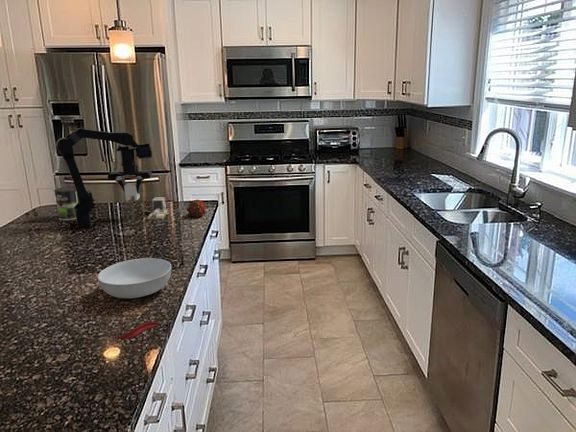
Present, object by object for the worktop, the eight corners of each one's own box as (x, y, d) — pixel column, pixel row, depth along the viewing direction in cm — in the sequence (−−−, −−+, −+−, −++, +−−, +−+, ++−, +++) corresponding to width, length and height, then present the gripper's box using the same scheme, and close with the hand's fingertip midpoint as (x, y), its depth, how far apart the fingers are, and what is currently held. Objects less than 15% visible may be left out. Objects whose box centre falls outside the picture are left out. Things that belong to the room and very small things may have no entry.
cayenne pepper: (116, 343, 112) (115, 336, 112) (113, 335, 116) (112, 328, 116) (166, 330, 118) (165, 323, 117) (161, 322, 122) (160, 316, 121)
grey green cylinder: (71, 221, 219) (67, 191, 215) (53, 219, 222) (49, 190, 218) (86, 215, 228) (82, 187, 225) (69, 214, 231) (65, 186, 227)
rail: (162, 219, 217) (160, 204, 215) (147, 220, 216) (145, 205, 214) (168, 210, 232) (166, 197, 230) (153, 211, 232) (152, 197, 230)
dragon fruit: (198, 222, 216) (194, 220, 227) (212, 210, 217) (207, 208, 228) (186, 209, 213) (182, 207, 224) (200, 196, 215) (195, 195, 226)
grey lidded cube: (137, 200, 215) (135, 185, 213) (125, 200, 214) (124, 185, 212) (140, 197, 221) (138, 182, 219) (129, 197, 220) (127, 183, 218)
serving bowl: (147, 272, 155) (144, 253, 153) (187, 288, 142) (185, 266, 140) (86, 294, 139) (83, 273, 137) (126, 314, 126) (123, 290, 124)
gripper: (152, 156, 221) (156, 189, 225) (112, 158, 219) (116, 191, 224) (147, 160, 210) (151, 194, 214) (105, 162, 209) (109, 196, 213)
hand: (132, 193), depth 216 cm, fingers closed on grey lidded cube, 5 cm apart
